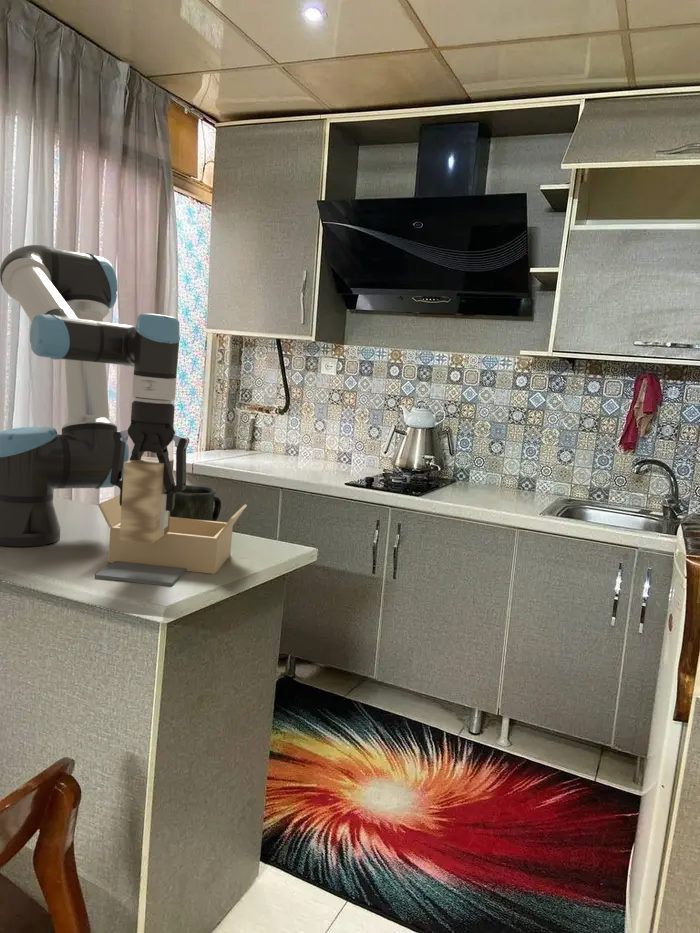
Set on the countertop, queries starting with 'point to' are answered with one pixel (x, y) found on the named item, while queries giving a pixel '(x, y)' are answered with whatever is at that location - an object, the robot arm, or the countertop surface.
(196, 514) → the mug
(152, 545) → the carton
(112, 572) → the mat
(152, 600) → the countertop surface
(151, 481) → the block
